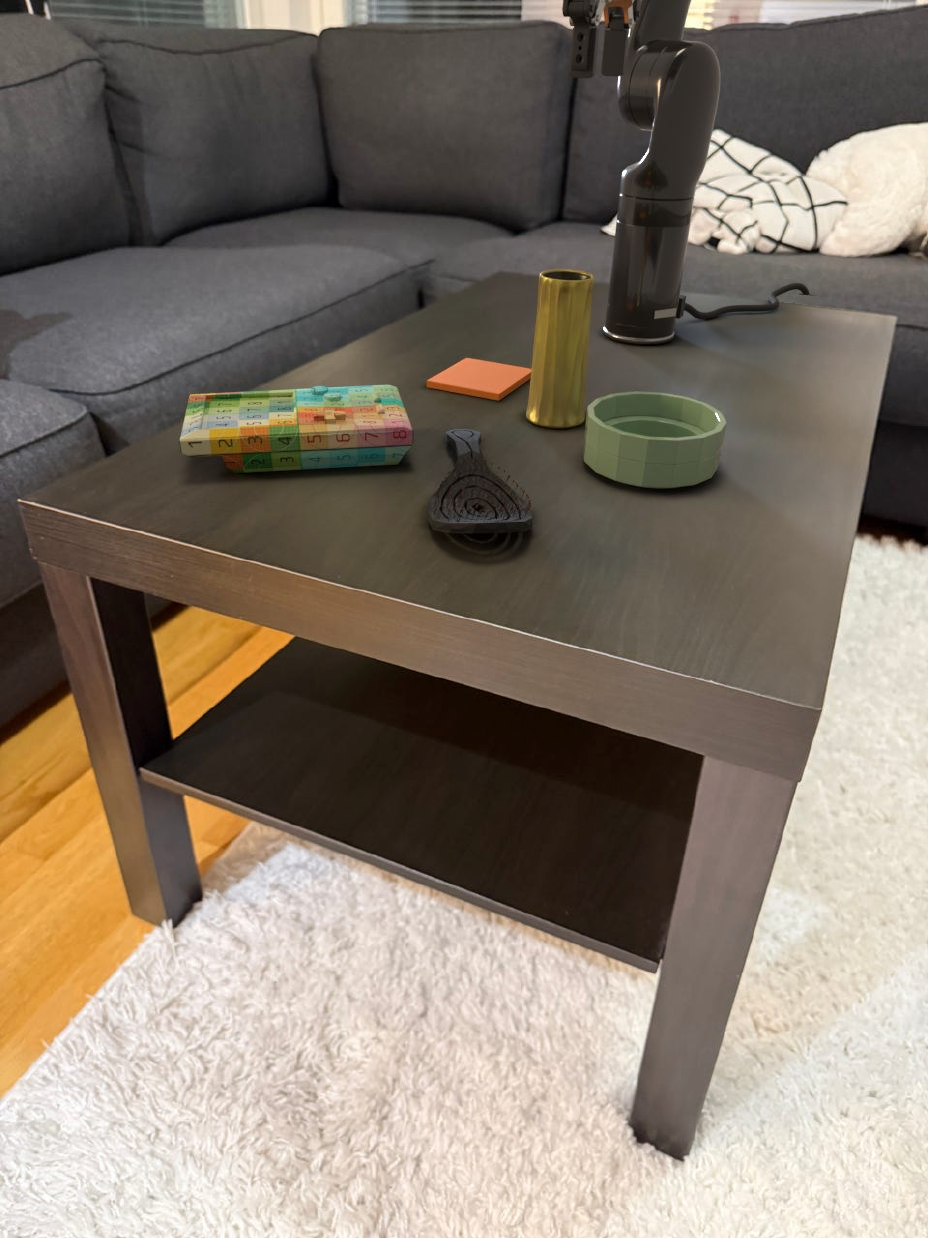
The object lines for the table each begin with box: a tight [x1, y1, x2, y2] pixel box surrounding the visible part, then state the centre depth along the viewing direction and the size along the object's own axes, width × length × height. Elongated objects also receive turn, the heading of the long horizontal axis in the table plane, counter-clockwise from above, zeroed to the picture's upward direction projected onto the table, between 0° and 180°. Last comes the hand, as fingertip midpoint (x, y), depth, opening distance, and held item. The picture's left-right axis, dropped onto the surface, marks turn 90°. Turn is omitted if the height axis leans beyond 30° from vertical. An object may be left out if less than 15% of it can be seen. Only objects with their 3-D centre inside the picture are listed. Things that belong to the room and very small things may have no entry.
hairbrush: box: [427, 428, 534, 534], centre depth 75 cm, size 8×4×25 cm
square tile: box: [426, 357, 532, 402], centre depth 100 cm, size 10×9×1 cm
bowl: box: [582, 390, 727, 489], centre depth 79 cm, size 12×12×5 cm
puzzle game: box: [178, 384, 414, 474], centre depth 81 cm, size 12×5×20 cm
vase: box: [525, 268, 595, 430], centre depth 87 cm, size 6×6×14 cm
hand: (597, 76), depth 81 cm, fingers open, 8 cm apart
